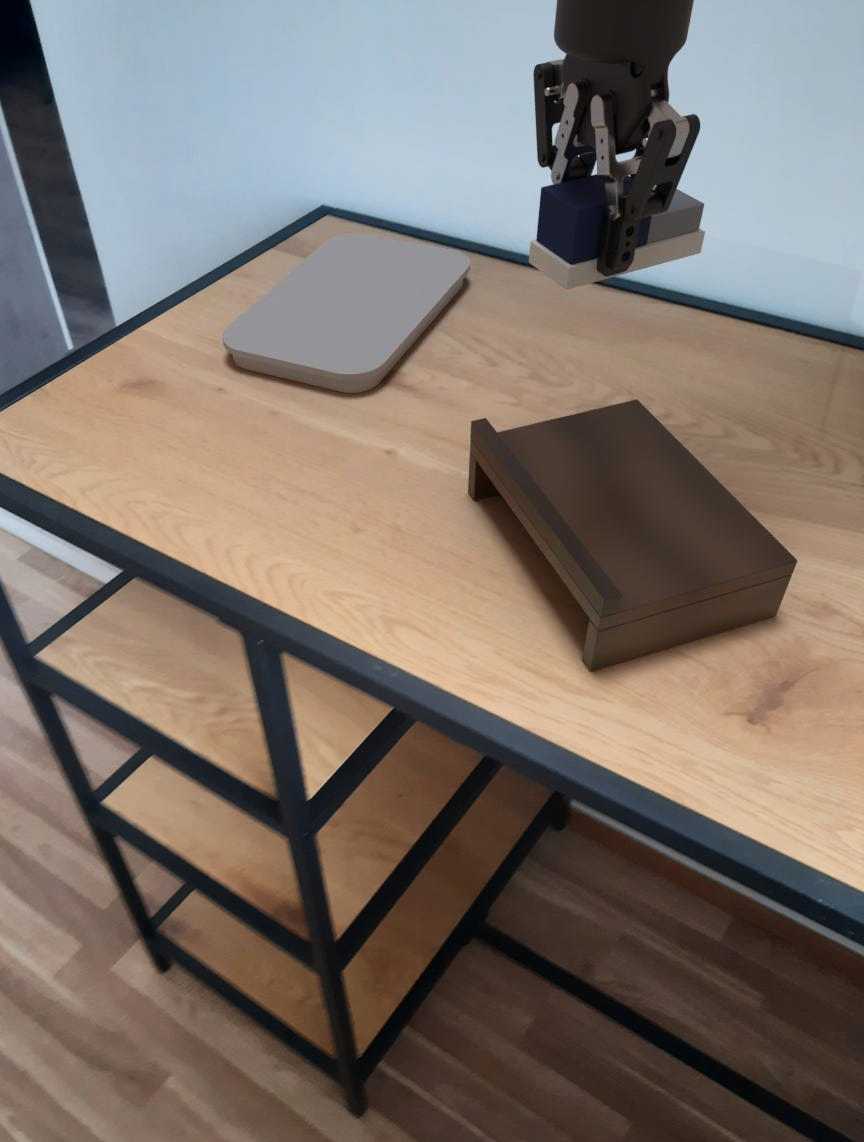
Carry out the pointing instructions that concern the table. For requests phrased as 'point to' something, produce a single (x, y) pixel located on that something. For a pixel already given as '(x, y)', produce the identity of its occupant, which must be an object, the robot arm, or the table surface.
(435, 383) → the table surface
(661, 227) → the stacked block set
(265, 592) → the table surface
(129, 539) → the table surface
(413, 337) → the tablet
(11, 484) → the table surface
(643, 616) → the dark wooden stand
